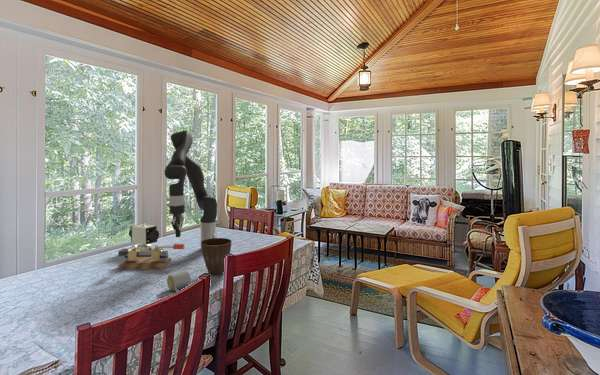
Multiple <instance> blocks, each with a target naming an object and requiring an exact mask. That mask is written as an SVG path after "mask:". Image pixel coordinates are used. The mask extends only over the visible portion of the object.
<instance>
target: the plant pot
mask: <svg viewBox="0 0 600 375" xmlns="http://www.w3.org/2000/svg"><path fill="white" fill-rule="evenodd" d="M201 248H202V250H201V252H202V258H203V261H204V263H205V267H206V270H207V271H208V274H209V275H211V276H220V275H223V274H224V273H225V271H224V258H225V255H226V254H229V255H230V254H231V250H232V249H231V248H232V239H231V238H223V237H217V238H211V239H206V240H203V241H201V240H200V249H201ZM223 272H224V273H223Z"/></svg>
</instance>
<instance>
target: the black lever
mask: <svg viewBox="0 0 600 375" xmlns="http://www.w3.org/2000/svg"><path fill="white" fill-rule="evenodd" d="M137 246H138V245H137V244H134V245H131V246H130V247H129V248H122V249H120V250H119V251H117V252H118V254H117V255H118V257H124V256H125V255H126V254H128V252H129V251H131V250H132V249H135V248H137Z"/></svg>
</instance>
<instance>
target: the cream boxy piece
mask: <svg viewBox="0 0 600 375" xmlns="http://www.w3.org/2000/svg"><path fill="white" fill-rule="evenodd" d="M159 232H160V231H159V230H158V229H157V225H152V224H151V225H150V224H146V223H145V222H144V223H141V224H135V225H130V229H129V231H128V236H129V237H130V242H131V243H137V244H138V245H137V248H141V250H153V249H154V246H153V243H157V242H158V240H159V237H160V233H159Z"/></svg>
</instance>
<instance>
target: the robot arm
mask: <svg viewBox="0 0 600 375" xmlns="http://www.w3.org/2000/svg"><path fill="white" fill-rule="evenodd" d="M170 140H171V143H172V146H173V148H174V149H175V150H174V152H173V153H172V156H171V160H170V161H169V163H168V164H167V165H166V166H165V169H164V177H165V178H166V179H168V180H178V182H176V183H175V182H174V183H171V184H169V187H168V189H169V190H168V191H169V194H168V197H169V198H168V199H169V200H168V201H169V202H168V206H169V208H168V210H169V214H170V215H172V220H171V221H170V222H171V226H172V229H173V230H174V232H175V238H180V237H181V235H182V234H181V230H182V228H183V224H184V218H185V217H184V216H183V214H184V213H186V206H185V205H186V204H185V202H186V200H185V194H184V193H185V192H184V188H185V187H184V186H185V180H186V177H187V179H188V181H189V183H190V186H191V188H192V191H193V194H194V197H195V199H196V203H197V206H198V207H199V209H200V210H202V211H203V212H202V213H203V215H202V216H201V217H200V224H199V226H200V242H201V241H203V240H206V239H211V238H218V237H217V236H218V233H217V231H216V230H217V229H216V227H217V225H216V224H217V223H216V222H217V220H216V219H217V218H218V217H217V216H218V201H217V199H216V198H215V197H213V196H209V195H208V193H207V190H206V188H205V178H204V177H205V175H204V172H203V170H202V166H201V165H200V164H199V163H198V162H197V161H196V160H194V159H193V158H192V157H190V156H189V155H188V153H189V151H190V149H191V147H192V145H193V142H194V141H193V140H194V139H193V135H192V134H191V132H190V131H189V130H181V131H177V132H174V133H172V134H170ZM200 250H201V251H202V248H201V247H200Z"/></svg>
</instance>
